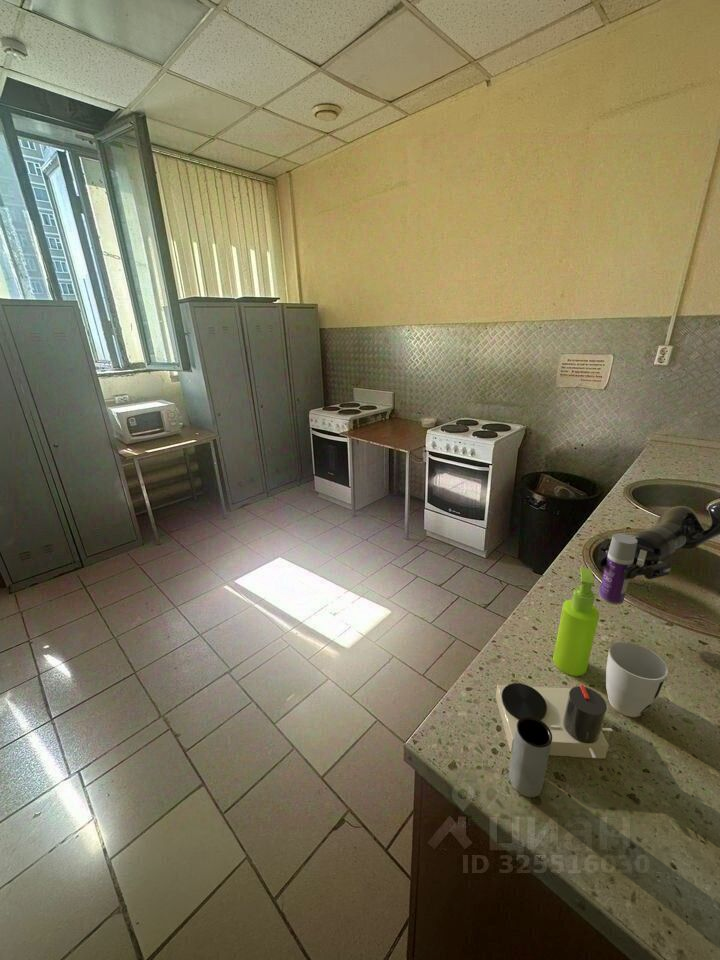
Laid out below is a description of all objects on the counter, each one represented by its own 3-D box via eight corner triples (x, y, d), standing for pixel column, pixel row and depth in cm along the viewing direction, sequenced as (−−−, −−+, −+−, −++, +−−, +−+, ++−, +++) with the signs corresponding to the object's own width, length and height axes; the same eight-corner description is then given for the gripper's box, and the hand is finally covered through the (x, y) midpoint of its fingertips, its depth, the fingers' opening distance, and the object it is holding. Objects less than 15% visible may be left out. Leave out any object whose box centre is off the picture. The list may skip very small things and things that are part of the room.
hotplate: (538, 686, 69) (538, 684, 69) (553, 723, 62) (553, 721, 62) (497, 684, 69) (497, 682, 69) (507, 721, 63) (507, 718, 63)
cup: (654, 734, 63) (670, 688, 60) (597, 711, 67) (608, 666, 64) (651, 696, 70) (665, 652, 66) (599, 677, 74) (609, 635, 70)
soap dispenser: (585, 653, 79) (604, 569, 72) (587, 679, 73) (608, 590, 66) (553, 645, 82) (568, 562, 74) (552, 669, 76) (569, 582, 69)
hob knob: (605, 745, 59) (613, 715, 57) (569, 741, 59) (576, 711, 57) (591, 715, 63) (598, 686, 61) (558, 712, 64) (564, 683, 62)
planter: (531, 762, 60) (540, 713, 56) (548, 794, 56) (559, 744, 52) (503, 767, 59) (510, 718, 56) (518, 800, 55) (527, 750, 51)
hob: (586, 701, 69) (589, 688, 68) (623, 774, 58) (628, 759, 57) (495, 697, 70) (497, 684, 69) (514, 767, 59) (516, 752, 58)
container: (595, 597, 88) (608, 538, 82) (603, 588, 90) (616, 530, 85) (618, 607, 84) (633, 546, 79) (626, 598, 87) (641, 538, 82)
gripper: (622, 520, 96) (581, 539, 87) (693, 544, 84) (654, 569, 76) (616, 546, 98) (576, 568, 90) (683, 574, 87) (645, 601, 79)
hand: (612, 569), depth 83 cm, fingers closed on container, 4 cm apart
